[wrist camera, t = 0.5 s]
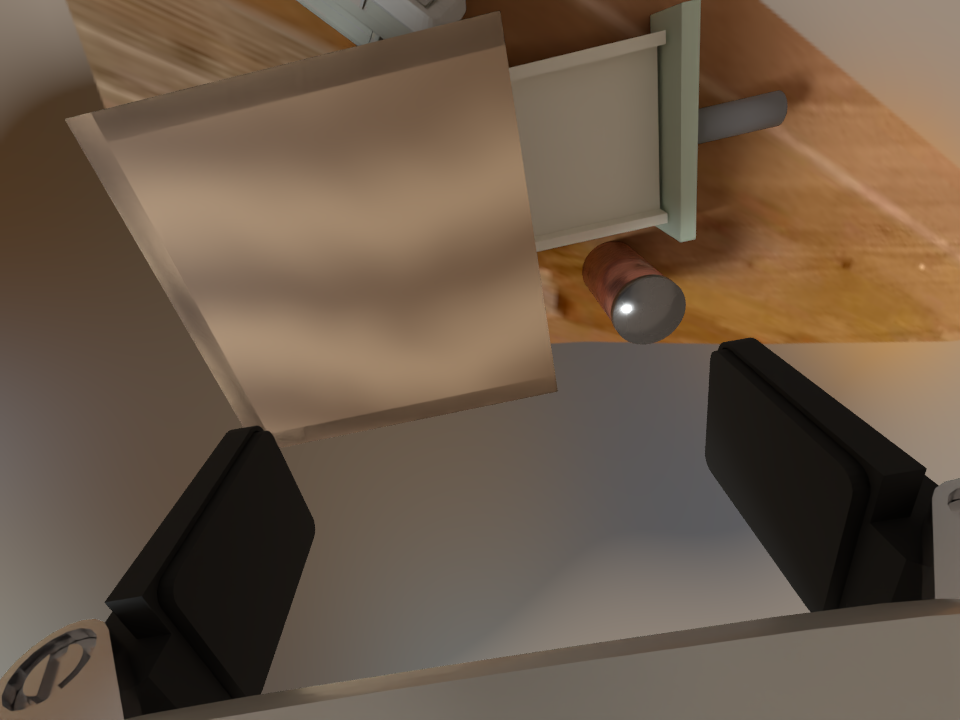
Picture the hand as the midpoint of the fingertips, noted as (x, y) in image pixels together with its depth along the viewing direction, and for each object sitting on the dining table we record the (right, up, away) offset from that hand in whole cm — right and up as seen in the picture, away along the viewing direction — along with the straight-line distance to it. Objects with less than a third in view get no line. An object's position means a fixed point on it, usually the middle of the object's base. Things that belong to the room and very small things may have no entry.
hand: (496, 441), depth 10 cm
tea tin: (+12, +10, +34) cm, 37 cm away
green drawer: (+10, +20, +28) cm, 36 cm away
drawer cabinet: (-7, +16, +29) cm, 34 cm away
